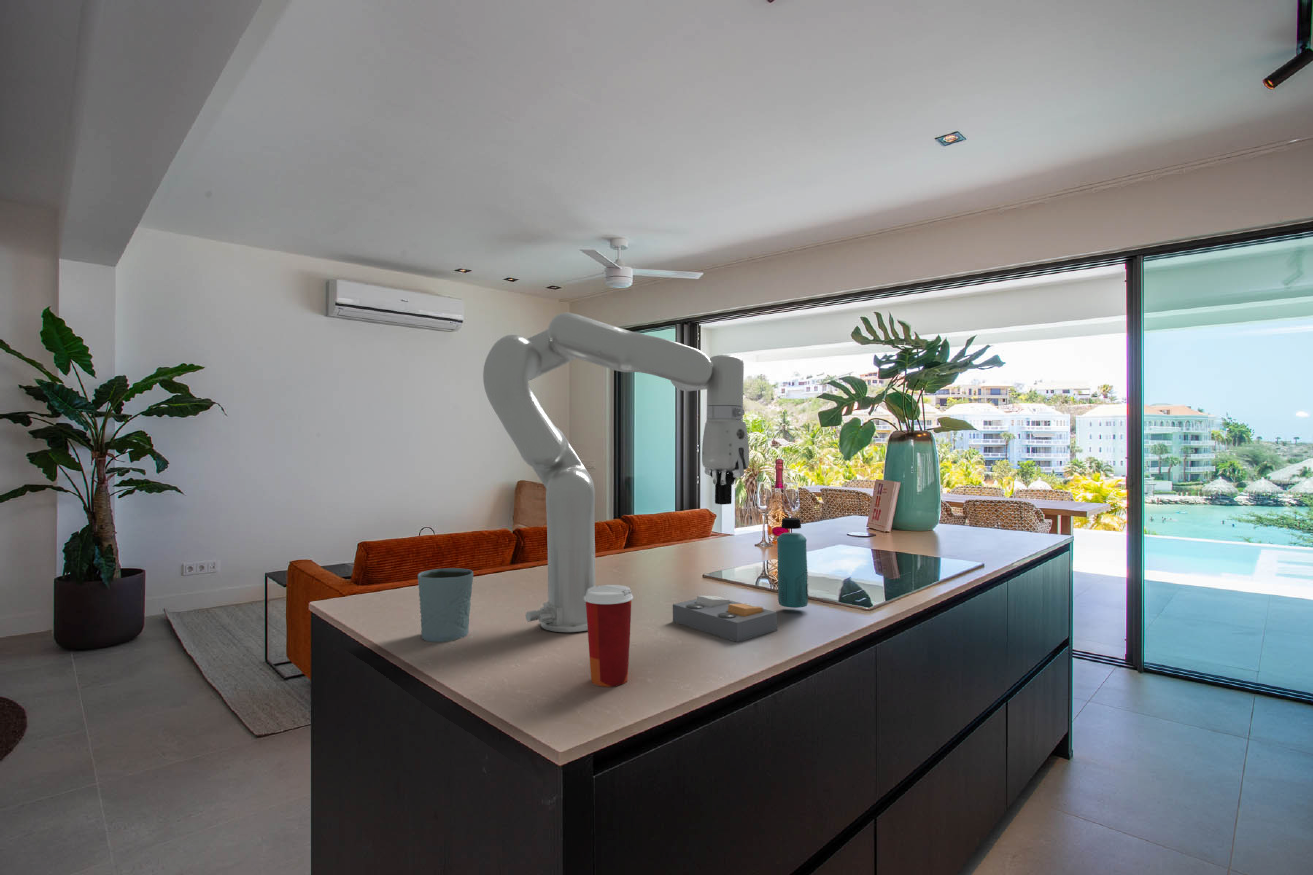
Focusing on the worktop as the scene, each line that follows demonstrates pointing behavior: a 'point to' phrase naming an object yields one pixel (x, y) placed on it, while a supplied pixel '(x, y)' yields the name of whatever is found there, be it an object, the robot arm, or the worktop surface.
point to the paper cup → (609, 633)
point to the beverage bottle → (792, 566)
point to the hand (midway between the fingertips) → (723, 503)
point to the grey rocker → (711, 601)
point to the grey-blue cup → (445, 603)
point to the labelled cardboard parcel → (744, 609)
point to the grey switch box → (724, 620)
